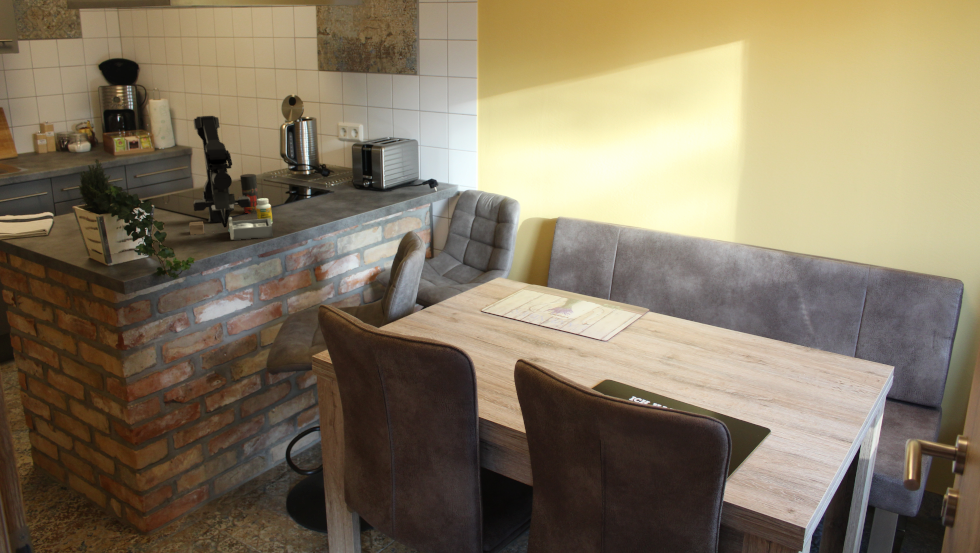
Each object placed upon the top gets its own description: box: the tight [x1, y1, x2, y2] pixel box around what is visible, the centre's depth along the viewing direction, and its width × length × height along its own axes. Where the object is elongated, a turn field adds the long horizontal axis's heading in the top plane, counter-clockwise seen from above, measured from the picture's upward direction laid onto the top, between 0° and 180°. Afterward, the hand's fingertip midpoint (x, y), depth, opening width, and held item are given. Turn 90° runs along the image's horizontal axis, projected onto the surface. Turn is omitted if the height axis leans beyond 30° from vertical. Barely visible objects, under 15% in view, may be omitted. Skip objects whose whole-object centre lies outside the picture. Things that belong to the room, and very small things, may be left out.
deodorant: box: [240, 173, 259, 215], centre depth 291 cm, size 6×6×15 cm
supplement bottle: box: [256, 197, 274, 225], centre depth 274 cm, size 5×5×10 cm
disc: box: [235, 223, 253, 229], centre depth 260 cm, size 6×6×2 cm
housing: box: [232, 218, 274, 241], centre depth 261 cm, size 12×13×4 cm
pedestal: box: [188, 221, 205, 236], centre depth 263 cm, size 4×4×4 cm
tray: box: [227, 216, 267, 240], centre depth 260 cm, size 12×13×5 cm
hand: (225, 227), depth 258 cm, fingers closed
